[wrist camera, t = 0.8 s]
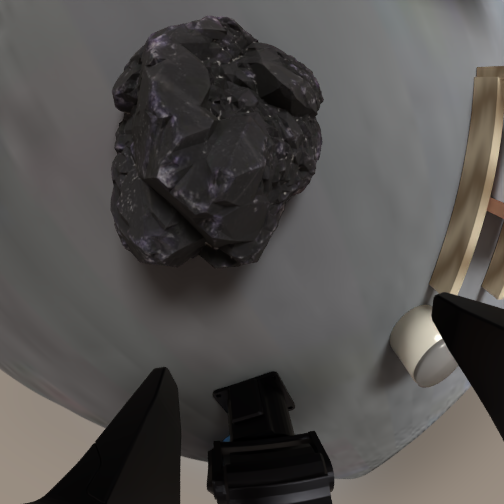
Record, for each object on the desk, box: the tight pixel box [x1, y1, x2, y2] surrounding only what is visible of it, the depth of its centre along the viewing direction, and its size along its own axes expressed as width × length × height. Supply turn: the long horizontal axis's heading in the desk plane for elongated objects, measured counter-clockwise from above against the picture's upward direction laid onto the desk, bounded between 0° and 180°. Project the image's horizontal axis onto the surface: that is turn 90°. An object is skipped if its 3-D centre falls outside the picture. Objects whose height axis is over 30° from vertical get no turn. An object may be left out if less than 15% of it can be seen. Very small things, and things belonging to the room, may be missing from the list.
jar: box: [390, 305, 458, 388], centre depth 24 cm, size 6×6×6 cm
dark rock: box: [111, 16, 324, 268], centre depth 14 cm, size 13×14×10 cm
